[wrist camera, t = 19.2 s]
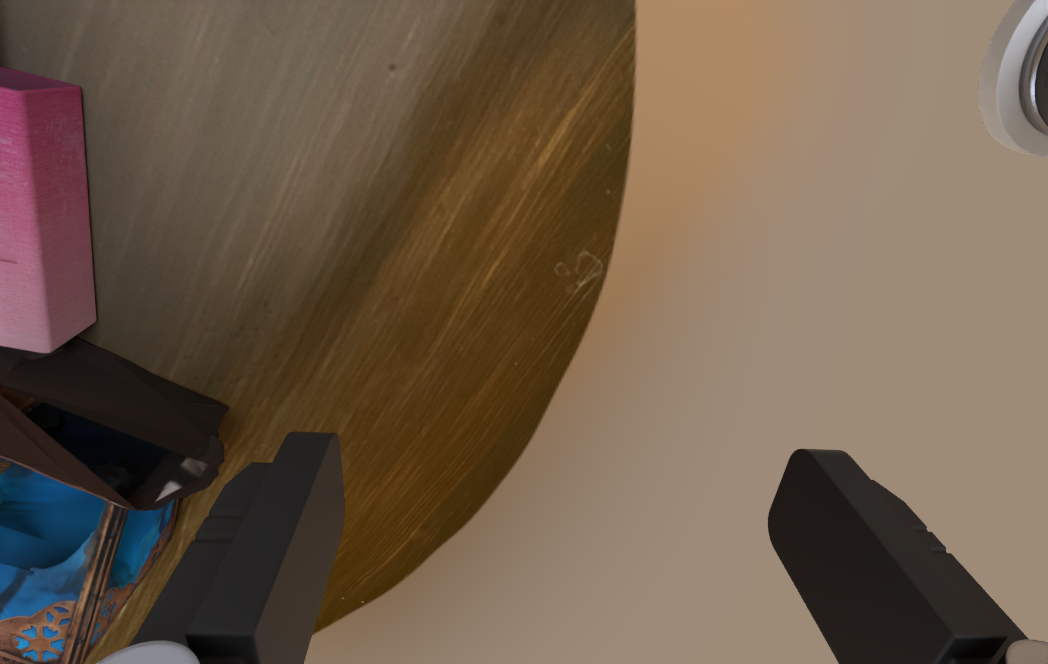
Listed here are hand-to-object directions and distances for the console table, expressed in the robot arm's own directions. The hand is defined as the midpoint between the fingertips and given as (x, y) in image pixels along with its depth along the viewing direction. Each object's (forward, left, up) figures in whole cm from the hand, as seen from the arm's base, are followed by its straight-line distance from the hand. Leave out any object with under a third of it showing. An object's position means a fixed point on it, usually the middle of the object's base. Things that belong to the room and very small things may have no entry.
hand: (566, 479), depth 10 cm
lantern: (+29, +24, -28) cm, 47 cm away
